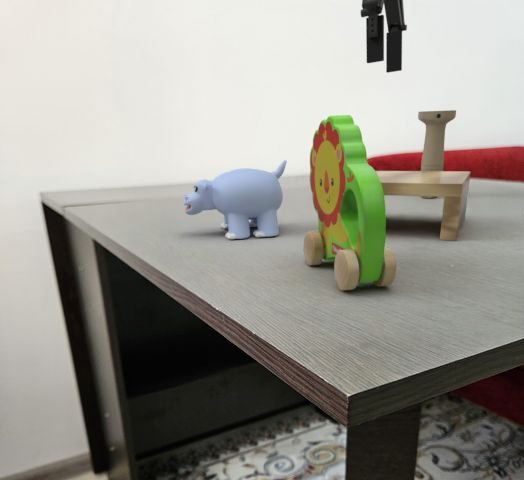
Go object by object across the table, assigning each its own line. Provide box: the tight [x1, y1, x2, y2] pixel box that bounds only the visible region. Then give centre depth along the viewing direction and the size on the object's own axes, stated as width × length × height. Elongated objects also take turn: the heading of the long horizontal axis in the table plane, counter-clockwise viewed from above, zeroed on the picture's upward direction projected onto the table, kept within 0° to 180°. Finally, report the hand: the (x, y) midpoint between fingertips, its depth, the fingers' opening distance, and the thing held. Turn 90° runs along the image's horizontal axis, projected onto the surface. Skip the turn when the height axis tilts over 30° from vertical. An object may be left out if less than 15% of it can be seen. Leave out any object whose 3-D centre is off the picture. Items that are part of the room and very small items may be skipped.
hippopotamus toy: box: [183, 159, 288, 240], centre depth 74 cm, size 11×15×10 cm
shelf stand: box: [375, 170, 471, 241], centre depth 74 cm, size 16×14×7 cm
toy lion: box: [303, 114, 397, 291], centre depth 52 cm, size 16×5×15 cm, turn 13°
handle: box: [417, 109, 457, 199], centre depth 96 cm, size 5×6×15 cm
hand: (385, 67), depth 92 cm, fingers open, 13 cm apart
